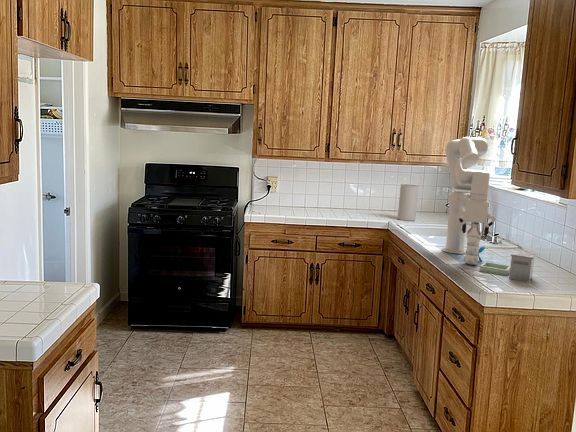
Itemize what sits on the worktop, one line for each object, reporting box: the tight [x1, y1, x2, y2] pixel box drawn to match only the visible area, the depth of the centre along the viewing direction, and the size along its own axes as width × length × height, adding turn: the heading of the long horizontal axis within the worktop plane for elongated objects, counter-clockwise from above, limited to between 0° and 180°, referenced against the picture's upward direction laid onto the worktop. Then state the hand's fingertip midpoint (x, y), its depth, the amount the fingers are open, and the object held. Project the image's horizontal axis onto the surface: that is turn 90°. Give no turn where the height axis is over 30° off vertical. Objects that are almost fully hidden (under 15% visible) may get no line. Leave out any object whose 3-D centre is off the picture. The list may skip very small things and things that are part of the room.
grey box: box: [508, 250, 537, 283], centre depth 242 cm, size 11×9×11 cm
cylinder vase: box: [397, 183, 420, 222], centre depth 399 cm, size 12×12×25 cm
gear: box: [478, 246, 486, 263], centre depth 272 cm, size 11×6×10 cm
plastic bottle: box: [463, 222, 482, 266], centre depth 262 cm, size 6×7×20 cm
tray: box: [479, 261, 511, 276], centre depth 253 cm, size 12×12×2 cm
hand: (474, 234), depth 261 cm, fingers open, 9 cm apart
